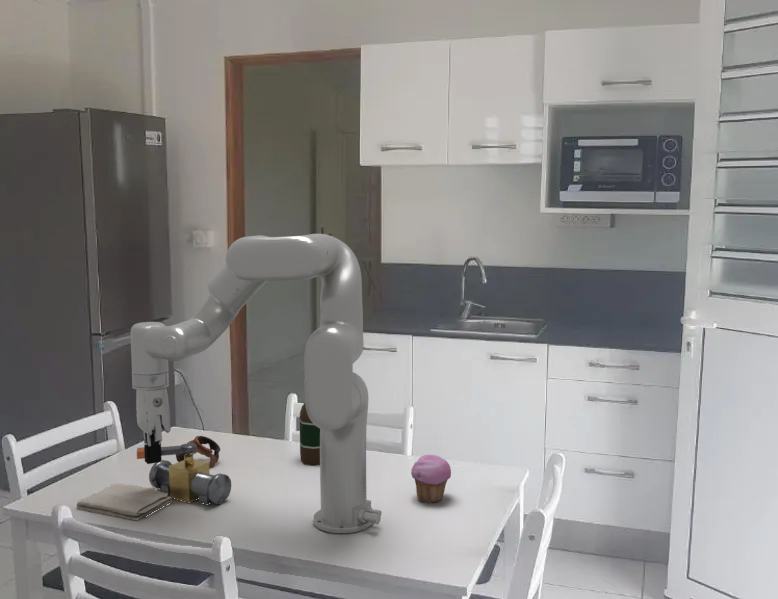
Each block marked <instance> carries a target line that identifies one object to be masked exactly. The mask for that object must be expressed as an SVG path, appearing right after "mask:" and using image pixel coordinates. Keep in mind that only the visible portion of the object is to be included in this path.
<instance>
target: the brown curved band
mask: <svg viewBox="0 0 778 599" xmlns="http://www.w3.org/2000/svg"><path fill="white" fill-rule="evenodd" d="M187 443H194V444H196V445H197V453H198V454H200V455H202V456H205V457H206V458H208V459H209V458H210V459H209V468H211V467H212V468H213V467H214V466H215V465H216V463H217V462H218V461H219V458H220V454H219V453H220V452H221V447H220V445H219V444H218V443H217V442H216V441H215V440H213V439H212V438H210V437H207V436H204V435H197V436H195V437H194V439H192V440H189V441H188V442H187ZM207 444H208V446H209V448H208V447H206V446H204V445H207ZM213 451H214V452H213ZM194 455H195V454H193V456H194ZM175 460H176V461H177V463H178V462H181V461H183V460H184V455H182V454H176V455H175Z"/></svg>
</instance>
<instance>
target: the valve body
mask: <svg viewBox="0 0 778 599" xmlns="http://www.w3.org/2000/svg"><path fill="white" fill-rule="evenodd" d="M209 463H210V461H209V462H208V461H204V460H200V459H196V458H194V455H193V454H192V455H184V460H183V461H181V462H178V461H177V462H176V463H174V464H172V462H171V461H169V460H164V459H162V460H161V462H158V463H153V465H152V466H151V468H150V470H149V474H148V480H149V484H150V485H151V486H152V488H155V489H160V492H163V493H168V494H170V495H169V497H171V498H175V499H178V500H177V501H179V500H182V501H186V502H191V503H193V502H192V501H194V500H196V499H198V498H199V499H198V503H199V502H200V503H204V504H209V503H211V504H215V505H216V504H217V505H220V504H223V503H225V502H226V501H227V499H228V497H229V496H230V494H231V491H232V480H231V478H230V476H229V475H228V474H224V473H221V472H220V473H216V474H215V475H214V474H210V467H209ZM175 499H174V500H175ZM182 501H181V502H182ZM196 501H197V500H196ZM186 502H185V503H186ZM194 502H195V501H194ZM200 503H199V504H200ZM204 504H203V505H204ZM209 505H210V504H209Z"/></svg>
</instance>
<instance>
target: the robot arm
mask: <svg viewBox="0 0 778 599" xmlns="http://www.w3.org/2000/svg"><path fill="white" fill-rule="evenodd" d="M317 277H319V278H320V282H321V286H320V287H321V289H320V296H319V307H320V309H319V310H320V322H319V327H318V328H317V329H315V330H314V331H313V332H312V333H311V335H310V336H309V338H308V339H307V341H306V344H305V348H304V353H303V355H304V358H303V363H304V364H303V365H304V366H303V367H304V403H305V406H306V411H307V414H308V416H309V418H310V420H311V421H312V423H313V424H314V425H315V426H317V427H318V428H320V465H319V475H320V476H319V477H320V478H319V479H320V481H319V482H320V483H319V484H320V489H319V492H320V509H319V510H317V511H316V512H315V513H314V515H313V516H312V517H313V525H314V526H315V527H316V528H317V529H319V530H320V531H323V532H327V533H332V534H351V533H357V532H360V531H364V530H366V529H368V528H370V527H371V526H372V525H373V524H374V525H379V524H380V523H381V519H382V512H383V511H382V510H380V509H374V508H373V507H372V500H370V499H367V498H368V497H367V428H368V424H367V423H368V412H369V391H368V387H367V384H366V382H365V381H364V379H363V378H362V377H361V376H360V375H359V374H358V373H356V372H354V371H353V370H354V369H353V368H354V365H353V364H354V363H355V362H357V361H358V360H359V358H361V356H362V353H363V351H364V343H365V342H364V320H363V319H364V317H363V316H364V309H363V284H362V283H363V281H362V280H363V279H362V272H361V267H360V264H359V261H358V258H357V257H356V255H355V253H354V251H353V250H352V249H351V247H350V246H348V244H346V243H345V242H344V241H342V240H340V239H338V238H336V237H335V236H332V235H329V234H325V233H312V234H311V233H310V234H303V235H294V236H293V235H292V236H267V235H260V234H259V235H249V236H243V237H240V238H237V239H236V240H235V241H234V242H232V243H231V244H230V246H229V247H228V250H227V251H226V254H225V265H223V266H222V268H220V270H218V272H217V273H216V274H215V275H213V277H212V278H211V279H210V280H209V282H208V285H207V290H208V292H209V296H208V298H207V300H206V301H205V302H204V304H203V305H202V306H201V307H200V308H198V310H197V311H196V313H194V314H193V315H192V316H191V318H189V319H188V320H185V321H182V322H179V323H176V324H173V325H168V326H166V324H164V323H162V322H160V321H159V322H158V321H145V322H144V321H143V322H138V323H135V324H133V325H132V326H131V328H130V350H131V351H130V354H131V356H130V357H131V378H132V379H131V382H132V389H133V390H136V392H135V395H136V396H135V397H136V398H135V399H136V400H135V401H136V403H135V404H136V405H135V406H136V407H135V409H136V422H137V426H138V427H139V428H140V429H141V430H142V431H143V442H144V453H145V458H144V462H145V464H147V465H151V464H155V463H158V462H161V460H163V459H162V456H161V447H162V441H163V435H162V433H163V431H164V432H166V433H167V434H169V433H170V432H171V428H172V427H171V414H170V404H169V395H168V390H167V388H168V387H169V386H170V384H169V383H170V381H169V378H170V376H169V361H170V362H180V361H184V360H186V359H189V358H191V357H192V356H194V355H198V354H200V353H202V352H204V351H206V350H207V349H208V348H209V347H210V346H212V345H213V344H214V342H216V341H217V340H218V339H219V338H220V337H221V336H222V335H223V333H225V331H226V330H228V328H229V327H230V325H231V324H232V323H233V321H234V320H235V318H237V316H238V314H239V312H240V310H241V309H242V308H243V307H244V306H245V305H246V304H247V303H248V302H249V301H250V299H252V298H253V296H255V295H256V293H257V292H258V291H259V290H260V289H261V288H262V287H263V286H264V284H266V283H267V282H272V281H273V282H275V281H276V282H277V281H279V282H281V281H304V280H310V279H314V278H317ZM162 430H163V431H162Z"/></svg>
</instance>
